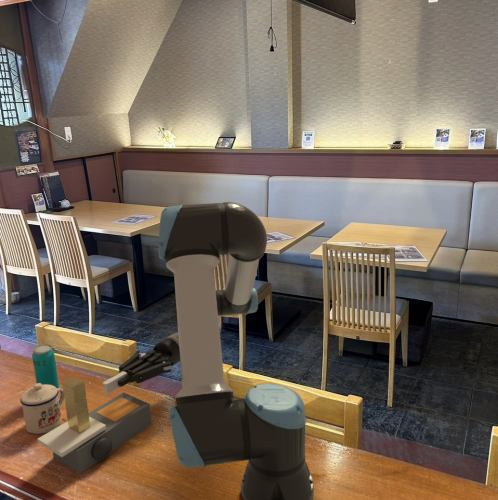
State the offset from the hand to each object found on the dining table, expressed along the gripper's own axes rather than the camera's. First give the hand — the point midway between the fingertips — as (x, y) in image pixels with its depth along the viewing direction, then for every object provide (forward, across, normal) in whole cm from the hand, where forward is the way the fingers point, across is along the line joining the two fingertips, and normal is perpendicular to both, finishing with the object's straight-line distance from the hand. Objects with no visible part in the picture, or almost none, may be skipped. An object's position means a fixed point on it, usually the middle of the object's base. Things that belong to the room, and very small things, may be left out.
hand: (105, 388), depth 122 cm
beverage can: (-3, +30, -14) cm, 33 cm away
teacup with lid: (+5, +19, -14) cm, 24 cm away
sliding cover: (+10, 0, -7) cm, 12 cm away
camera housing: (+2, 0, -14) cm, 14 cm away
